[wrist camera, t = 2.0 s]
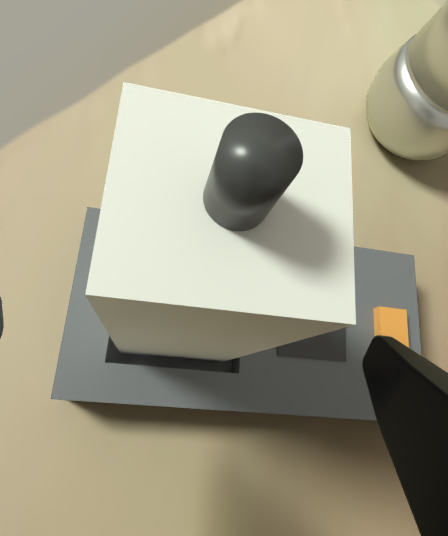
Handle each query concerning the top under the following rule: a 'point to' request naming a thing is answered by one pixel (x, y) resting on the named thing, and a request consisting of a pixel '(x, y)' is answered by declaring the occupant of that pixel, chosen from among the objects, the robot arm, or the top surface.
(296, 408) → the power strip
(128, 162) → the charger
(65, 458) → the top surface
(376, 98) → the plastic bottle
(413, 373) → the robot arm
